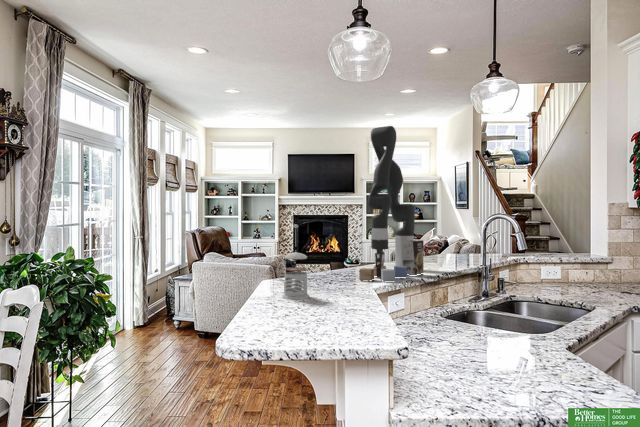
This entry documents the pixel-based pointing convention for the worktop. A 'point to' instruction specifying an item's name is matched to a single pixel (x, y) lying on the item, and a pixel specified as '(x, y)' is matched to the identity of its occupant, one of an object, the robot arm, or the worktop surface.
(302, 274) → the french press
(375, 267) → the terracotta block
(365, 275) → the walnut block
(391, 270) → the slate block
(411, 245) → the coffee box
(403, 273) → the navy block
